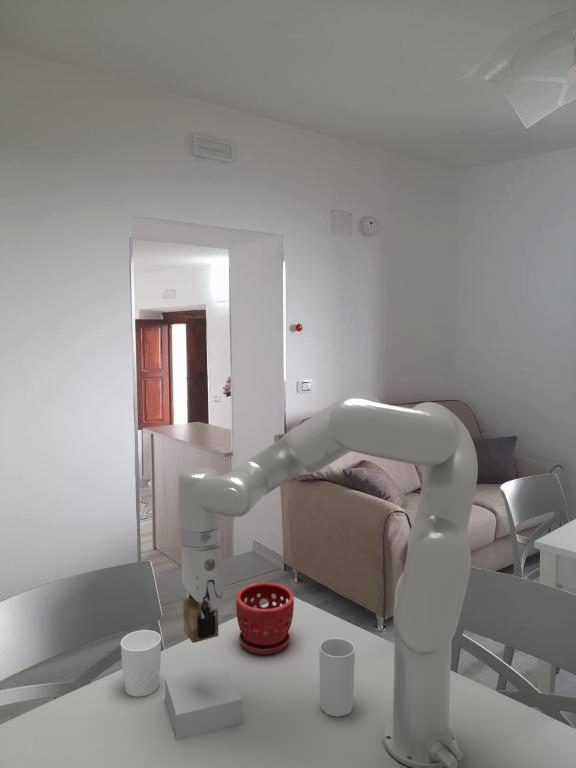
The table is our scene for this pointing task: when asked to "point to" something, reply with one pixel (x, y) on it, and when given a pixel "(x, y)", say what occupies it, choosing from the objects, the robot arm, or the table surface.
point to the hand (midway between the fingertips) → (200, 628)
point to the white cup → (141, 662)
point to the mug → (336, 676)
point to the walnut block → (195, 619)
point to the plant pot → (264, 617)
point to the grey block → (202, 701)
